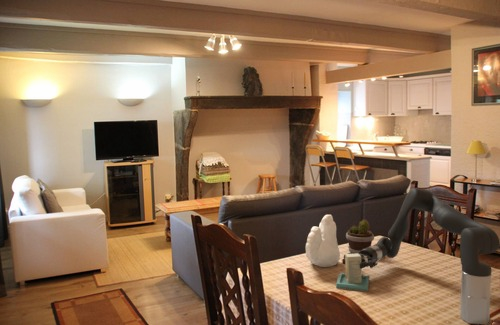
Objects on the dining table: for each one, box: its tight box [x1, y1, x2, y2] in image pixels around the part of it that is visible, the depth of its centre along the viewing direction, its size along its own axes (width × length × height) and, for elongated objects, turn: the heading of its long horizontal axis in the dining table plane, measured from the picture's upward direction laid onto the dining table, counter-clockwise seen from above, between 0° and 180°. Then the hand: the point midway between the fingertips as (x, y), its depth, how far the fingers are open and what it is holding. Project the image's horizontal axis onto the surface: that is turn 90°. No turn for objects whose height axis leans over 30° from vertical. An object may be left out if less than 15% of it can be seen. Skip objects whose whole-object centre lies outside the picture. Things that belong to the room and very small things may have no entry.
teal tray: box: [335, 272, 370, 292], centre depth 184 cm, size 13×13×2 cm
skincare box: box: [344, 253, 362, 284], centre depth 184 cm, size 6×4×12 cm
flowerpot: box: [345, 218, 375, 254], centre depth 226 cm, size 14×15×20 cm
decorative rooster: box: [305, 214, 341, 268], centre depth 207 cm, size 25×16×25 cm, turn 130°
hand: (351, 264), depth 183 cm, fingers open, 8 cm apart
